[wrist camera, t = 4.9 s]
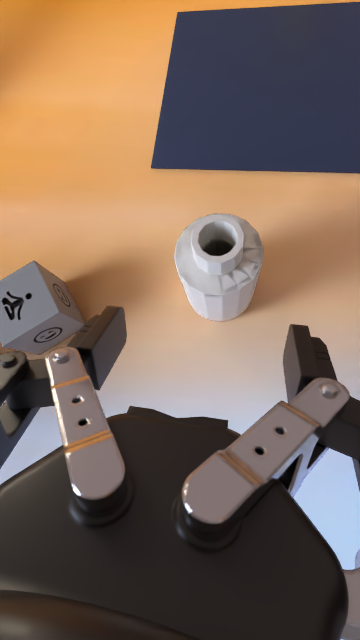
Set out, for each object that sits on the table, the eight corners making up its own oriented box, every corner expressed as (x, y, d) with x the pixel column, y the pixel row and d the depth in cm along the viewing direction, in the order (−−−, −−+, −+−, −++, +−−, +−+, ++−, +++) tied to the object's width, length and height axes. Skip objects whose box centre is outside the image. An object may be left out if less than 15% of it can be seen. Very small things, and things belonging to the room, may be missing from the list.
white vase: (183, 318, 28) (163, 279, 19) (191, 257, 29) (176, 193, 20) (250, 324, 27) (263, 287, 18) (255, 261, 28) (270, 197, 19)
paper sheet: (151, 168, 32) (150, 167, 32) (177, 14, 36) (177, 12, 36) (368, 173, 29) (368, 171, 28) (369, 3, 33) (369, 1, 33)
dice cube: (18, 309, 30) (-21, 292, 25) (64, 282, 30) (34, 260, 25) (39, 354, 29) (2, 346, 24) (86, 325, 29) (59, 311, 24)
